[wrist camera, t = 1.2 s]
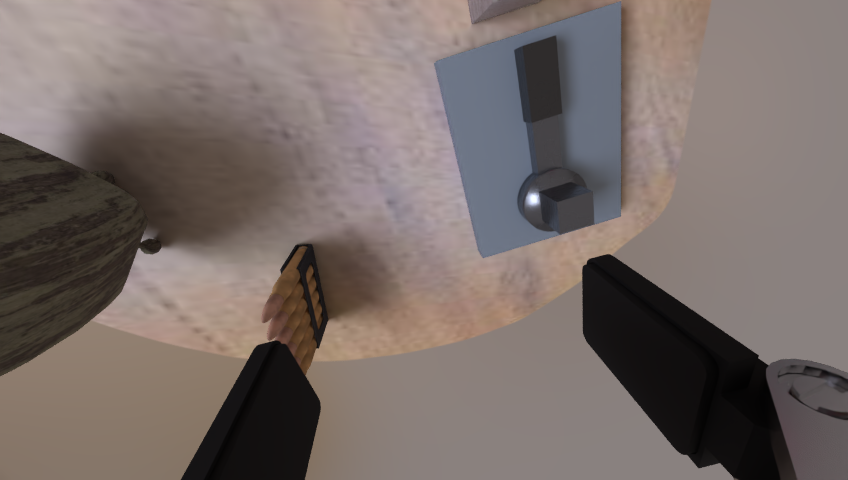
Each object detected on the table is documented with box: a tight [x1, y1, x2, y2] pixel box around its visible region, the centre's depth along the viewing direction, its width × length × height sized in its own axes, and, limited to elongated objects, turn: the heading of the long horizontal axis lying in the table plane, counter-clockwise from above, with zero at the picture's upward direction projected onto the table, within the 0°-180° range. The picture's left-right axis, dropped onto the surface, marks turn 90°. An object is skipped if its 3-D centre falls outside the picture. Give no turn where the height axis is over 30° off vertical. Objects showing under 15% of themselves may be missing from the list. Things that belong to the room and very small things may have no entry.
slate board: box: [434, 1, 621, 258], centre depth 30 cm, size 20×16×2 cm
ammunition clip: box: [261, 244, 328, 375], centre depth 30 cm, size 11×2×12 cm, turn 2°
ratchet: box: [514, 35, 594, 234], centre depth 27 cm, size 17×6×6 cm, turn 16°
